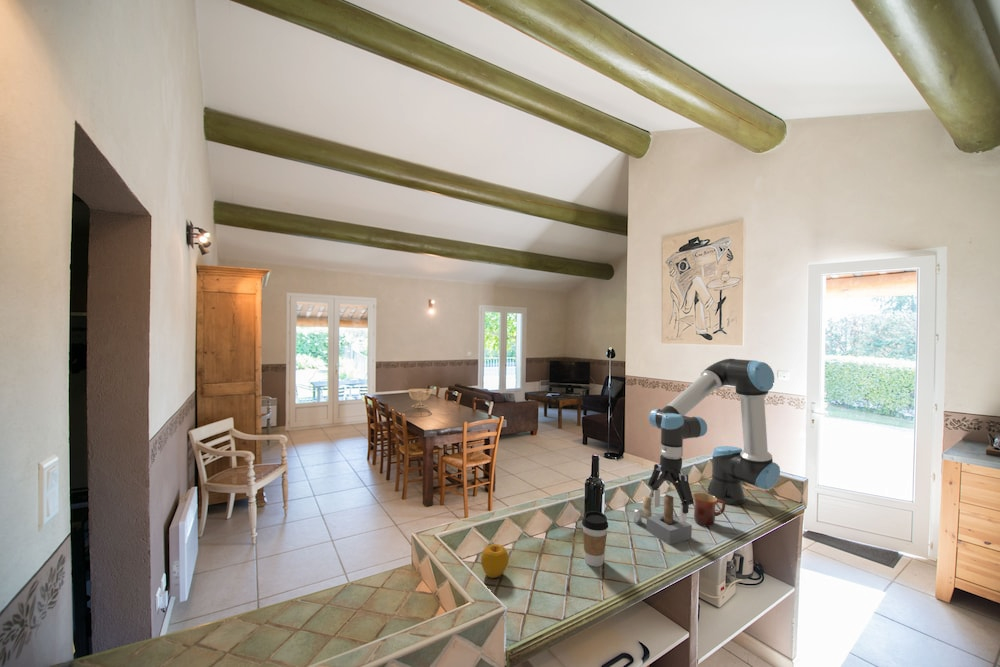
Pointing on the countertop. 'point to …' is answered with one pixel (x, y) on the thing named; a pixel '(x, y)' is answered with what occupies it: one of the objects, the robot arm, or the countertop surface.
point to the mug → (706, 508)
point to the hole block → (669, 529)
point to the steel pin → (638, 516)
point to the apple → (494, 560)
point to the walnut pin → (668, 510)
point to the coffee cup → (594, 537)
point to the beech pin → (647, 506)
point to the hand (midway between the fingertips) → (669, 513)
